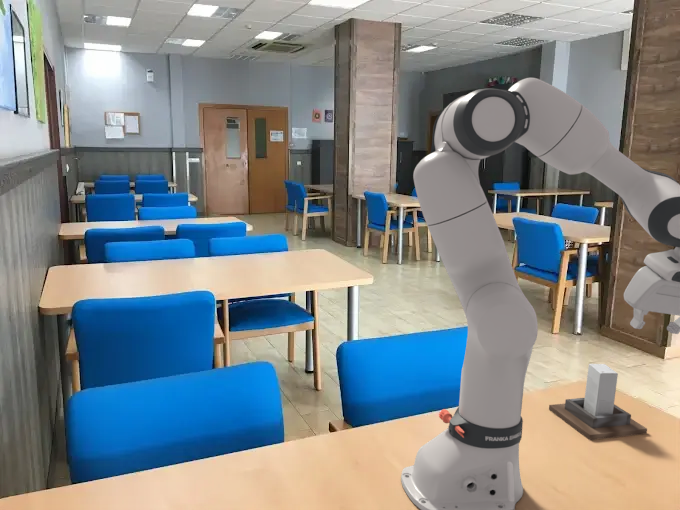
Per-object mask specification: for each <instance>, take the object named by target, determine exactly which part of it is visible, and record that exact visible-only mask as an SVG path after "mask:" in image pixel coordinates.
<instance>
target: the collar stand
mask: <svg viewBox="0 0 680 510" xmlns="http://www.w3.org/2000/svg"><path fill="white" fill-rule="evenodd" d="M584 400H585V397H577V398H567V399H565V402H564V403H557V404H549V407H548V410H549V411H550V412H551V411H552V412H551V413H553V414H554V415H555V414H556V415H555V416H557V417H558V418H560V419H561V420H562V421H563V422H565V423H566V424H567V425H569V426H570V427H571V428H573V429H574V430H575V431H577V432H578V433H580V434H581V435H582V436H583V437H585V438H586V439H588V440H589V441H593V440H603V439H611V438H613V439H614V438H620V437H628V436H638V435H645V434H647V432H648V428H647V427H646V426H643V425H642V424H640V423H638V422H637V421H636V420H634V419H633V418H632V414H630V413H629V412H627V411H626V410H624V409H623V408H622V407H620V406H618V405H616V404H615V403H614V408H613V414H611V415H601V416H593V415H592V414H590V413H589V412H588V411H586V410H585V409H583V408H584Z"/></svg>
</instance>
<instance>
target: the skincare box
mask: <svg viewBox="0 0 680 510" xmlns="http://www.w3.org/2000/svg"><path fill="white" fill-rule="evenodd" d="M587 369H588V370H587V376H586V383H585V384H586V385H585V394H584V398H585V400H584V408H583V409H585V410H586V411H588V412H589V413H590V414H592V415H593V416H601V415H611V414H613V408H614V404H615V400H616V391H617V384H618V377H619V376H618V375H619V373H618V372H617V371H615V370H614V369H612V368H611V367H609V366H608V365H607V364H606V363H588V367H587Z"/></svg>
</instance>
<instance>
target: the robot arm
mask: <svg viewBox="0 0 680 510" xmlns="http://www.w3.org/2000/svg"><path fill="white" fill-rule="evenodd" d="M514 143H515V144H516V143H517V144H519V145H520V146H523V147H524V148H526V149H527V150H528V151H529V152H530V153H532V154H533V155H534V156H536V157H537V158H538V159H540V160H541V161H543V162H544V163H545V164H547V165H548V166H551V167H552V168H553V169H556V170H558V171H561V172H563V173H565V174H567V175H578V174H581V173H582V174H583V173H585V174H586V173H587V174H589V175H590V176H592V177H594V178H595V179H596V180H598V181H599V182H601V183H602V184H603V185H604V186H606V187H608V189H610V190H611V191H613V192H615V193H616V194H617V195H618V197H620V200H621V201H622V205H623V206H624V208H625V210H626V212H627V214H628V215H629V216H630V217H631V218H633V219H634V220H635V221H636V222H637V223H638V224H639V225H640V227H641V228H643V229H644V231H645V232H646V233H647V234H648V235H649V236H650V237H651V238H652V239H654V240H655V241H656V242H658V243H660V244H662V245H666V246H670V247H675V248H674V249H668V250H664V251H659V252H651V253H648V254H647V255H646V256H645V258H644V260H643V264H644V265H645V266H642V267H641V268H639V269H638V270H637V271H636V272H635V273H634V275H633V277H632V278H631V280H630V281H629V283H628V285H627V287H626V288H625V290H624V292H623V300H624V302H626V303H627V304H628V305H629V306H630V307H632V308H633V317H632V319H631V320H630V322H629V324H630V326H631V327H633V329H638V330H641V329H643V328H644V326H645V325H646V321H644V317H645V316H647V315H648V314H649V312H653V313H658V314H664V315H665V314H666V315H667V314H668V315H674V316H679V317H677V318H676V319H675V320H674V321H669V324H668V325H667V326H666V330H667V331H668V332H669V333H670V334H675V335H678V334H679V333H680V183H679V182H677V181H678V180H676V179H675V178H674V177H673V176H671V175H669V174H666V173H663V172H659V171H654V170H650V169H646V168H644V167H642V166H640V165H639V164H637V163H636V162H634V161H633V160H632V159H630V158H629V157H628V156H626V155H625V154H624V153H622V152H621V151H620V150H618V149H617V147H615V146H614V145H613V144H612V142H610V133H609V130H608V128H606V127H605V125H604V124H603V122H601V121H600V119H599V118H598V117H597V116H596V115H595V114H594V113H593V112H592V111H591V110H590V109H588V108H587V107H586V106H584V104H582V103H581V102H579V101H578V100H576V99H575V98H574V97H572V96H570V95H569V94H568V93H566V92H565V91H562V90H561V89H559V88H558V87H556V86H554V85H552V84H550V83H548V82H546V81H544V80H542V79H540V78H536V77H526V78H523V79H521V80H518V81H517V82H516V83H514V84H513V85H511V86H510V87H509V88H508V90H507V89H499V88H493V87H492V88H491V87H490V88H488V87H487V88H479V89H476V90H473V91H471V92H469V93H468V94H465V95H461V96H459V97H457V98H456V99H454V100H453V101H452V102H450V103H449V104H448V105H447V106H446V107H444V108H443V109H442V110H441V111H440V112H439V114H438V115H437V117H436V119H435V121H434V124H433V128H432V140H431V148H430V153H429V154H427V155H426V156H424V157H423V158H422V159H421V160H420V161H419V162H418V163H417V164H416V166H415V168H414V170H413V175H412V176H413V177H412V178H413V183H414V187H415V193H416V197H417V200H418V203H419V206H420V210H421V213H422V216H423V218H424V220H425V223H426V226H427V228H428V230H429V233H430V236H431V238H432V240H433V243H434V245H435V248H436V250H437V251H438V255H439V257H440V259H441V262H442V265H443V267H444V268H445V271H446V273H447V275H448V278H449V280H450V282H451V283H452V286H453V288H454V291H455V293H456V296H457V298H458V299H459V302H460V305H461V307H462V309H463V312H464V315H465V318H466V323H467V324H466V325H467V337H466V344H465V345H466V347H465V352H464V353H465V354H464V359H463V362H462V363H463V364H462V368H461V373H460V374H461V375H460V387H459V389H460V390H459V401H458V407H457V409H456V410H455V412H454V413H453V415H452V413H450V412H449V410H448V409H446V408H443V409H442V410H440V411H439V413H438V417H439V419H440V420H442V422H443V423H445V424H449V425H448V426H447V427H448V428H446V429H444V430H443V431H442V432H440V433H439V434H437V436H435V437H434V438H432V439H430V440H429V441H427V442H426V443H424V444H423V445H421V447H420V448H419V449H418V451H417V452H416V456H415V458H414V459H415V460H414V462H413V463H414V464H413V465H409V466H405V467H404V468H403V469H402V471H401V475H400V481H401V485H402V488H403V490H404V492H405V494H406V495H407V496H408V498H409V500H411V502H412V503H413V504H414V505H415V506H416V507H417V508H418V509H420V510H516V504H517V502H519V501H520V500H521V498H522V497H523V494H524V488H523V484H522V478H521V471H520V470H521V469H520V457H519V456H520V443H521V440H522V436H523V435H522V434H523V423H524V421H523V420H524V419H523V417H522V409H523V408H522V407H523V397H524V389H525V387H524V386H525V380H526V375H527V371H528V367H529V364H530V362H531V361H530V360H531V356H532V352H533V348H534V345H535V343H536V341H537V339H538V338H537V337H538V330H539V329H538V328H539V326H538V325H539V323H538V317H537V313H536V310H535V309H534V307H533V305H532V304H531V303H530V301H529V300H528V298H527V297H526V296H525V294H524V292H523V290H522V288H521V287H520V284H519V281H518V280H517V277H516V273H515V271H514V268H513V265H512V262H511V260H510V257H509V255H508V251H507V248H506V244H505V241H504V238H503V236H502V233H501V231H500V228H499V227H498V223H497V221H496V219H495V216H494V213H493V211H492V209H491V206H490V204H489V202H488V198H487V197H486V194H485V192H484V190H483V188H482V186H481V183H480V181H481V180H480V176H479V167H480V162H481V160H483V159H487V158H489V157H491V156H495V155H497V154H501V153H502V152H503V151H505V150H506V149H508V148H509V147H510V146H512V145H513V144H514Z"/></svg>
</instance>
